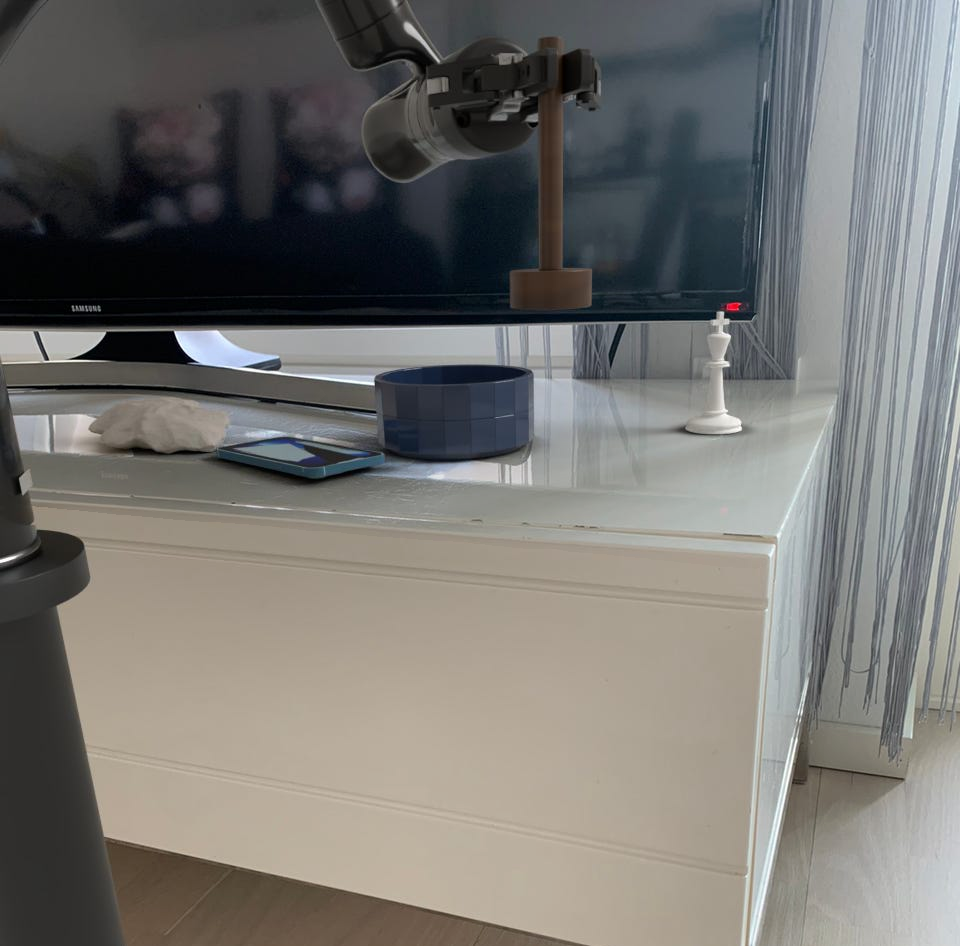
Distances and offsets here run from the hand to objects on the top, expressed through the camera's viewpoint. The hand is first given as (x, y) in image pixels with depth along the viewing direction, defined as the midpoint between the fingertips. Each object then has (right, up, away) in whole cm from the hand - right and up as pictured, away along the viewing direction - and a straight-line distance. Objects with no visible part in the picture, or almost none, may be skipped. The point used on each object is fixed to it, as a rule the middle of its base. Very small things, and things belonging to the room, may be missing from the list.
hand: (569, 67), depth 60 cm
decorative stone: (-34, -17, +30) cm, 48 cm away
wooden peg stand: (-1, -12, +8) cm, 14 cm away
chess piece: (+15, -16, +28) cm, 36 cm away
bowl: (-7, -18, +24) cm, 31 cm away
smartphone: (-20, -21, +20) cm, 35 cm away
